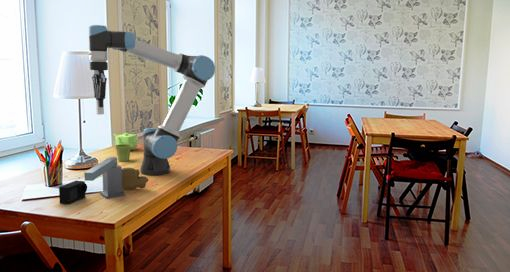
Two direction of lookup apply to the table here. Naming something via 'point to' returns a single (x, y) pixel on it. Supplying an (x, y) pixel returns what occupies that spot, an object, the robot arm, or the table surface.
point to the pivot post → (112, 183)
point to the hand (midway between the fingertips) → (100, 114)
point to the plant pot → (123, 151)
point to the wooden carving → (132, 179)
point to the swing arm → (100, 168)
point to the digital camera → (72, 192)
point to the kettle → (127, 139)
